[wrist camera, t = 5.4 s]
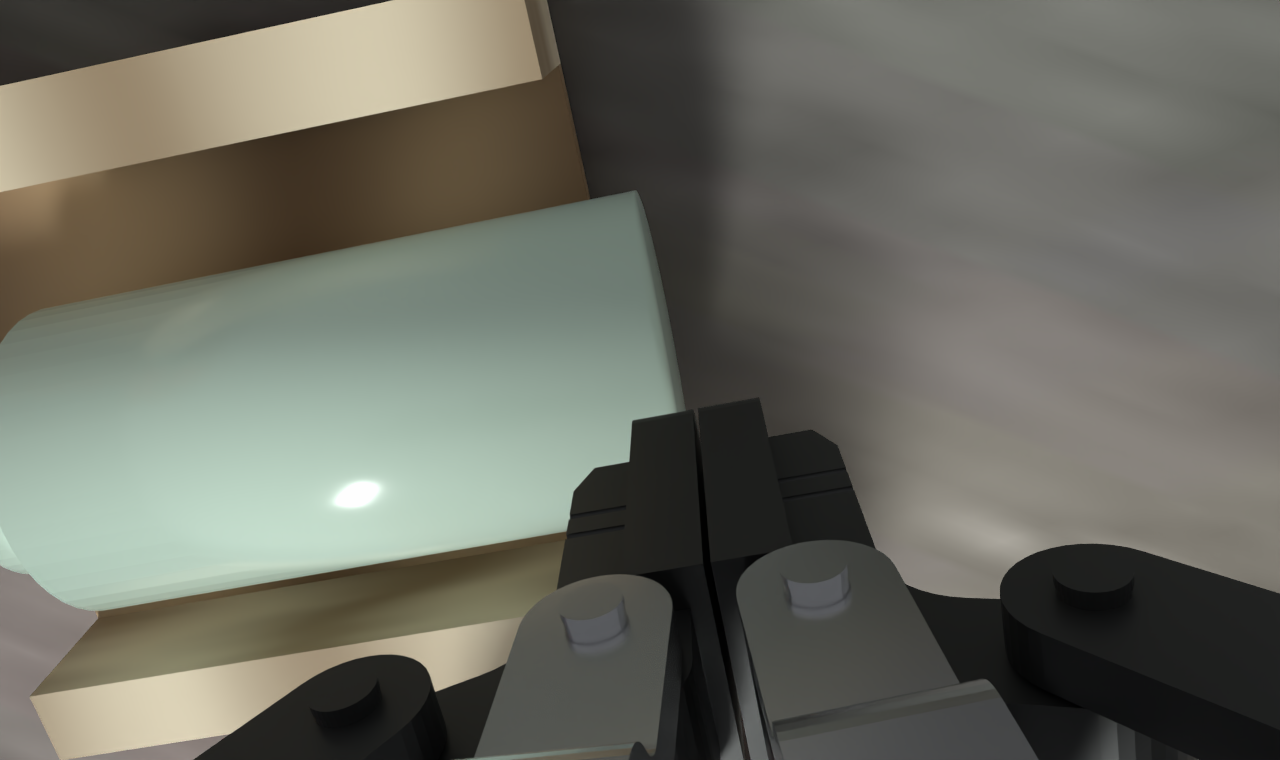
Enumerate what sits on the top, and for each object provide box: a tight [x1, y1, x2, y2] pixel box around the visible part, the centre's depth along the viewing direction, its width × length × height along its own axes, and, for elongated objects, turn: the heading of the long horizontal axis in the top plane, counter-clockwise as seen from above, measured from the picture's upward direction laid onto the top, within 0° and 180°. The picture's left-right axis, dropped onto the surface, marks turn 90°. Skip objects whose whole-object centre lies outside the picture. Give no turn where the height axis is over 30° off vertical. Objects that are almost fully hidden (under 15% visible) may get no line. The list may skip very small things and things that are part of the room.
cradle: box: [0, 0, 590, 760], centre depth 19 cm, size 12×12×3 cm
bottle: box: [0, 191, 686, 611], centre depth 18 cm, size 5×5×15 cm
